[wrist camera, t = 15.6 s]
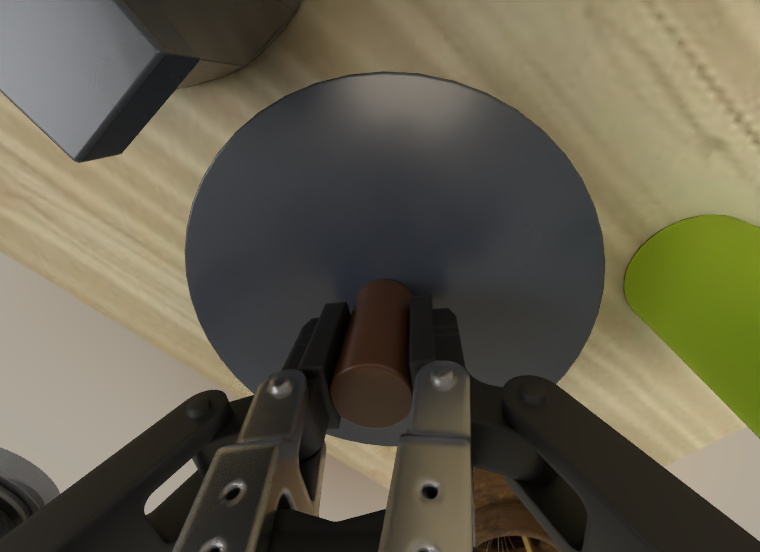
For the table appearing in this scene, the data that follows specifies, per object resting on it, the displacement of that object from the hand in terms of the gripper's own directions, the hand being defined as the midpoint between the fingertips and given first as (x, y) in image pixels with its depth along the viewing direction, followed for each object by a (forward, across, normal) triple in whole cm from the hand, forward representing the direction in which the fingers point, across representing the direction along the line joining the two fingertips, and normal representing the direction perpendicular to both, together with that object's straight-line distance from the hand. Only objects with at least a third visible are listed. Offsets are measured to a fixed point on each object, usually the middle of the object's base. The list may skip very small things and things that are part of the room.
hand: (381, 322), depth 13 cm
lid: (+2, 0, 0) cm, 2 cm away
